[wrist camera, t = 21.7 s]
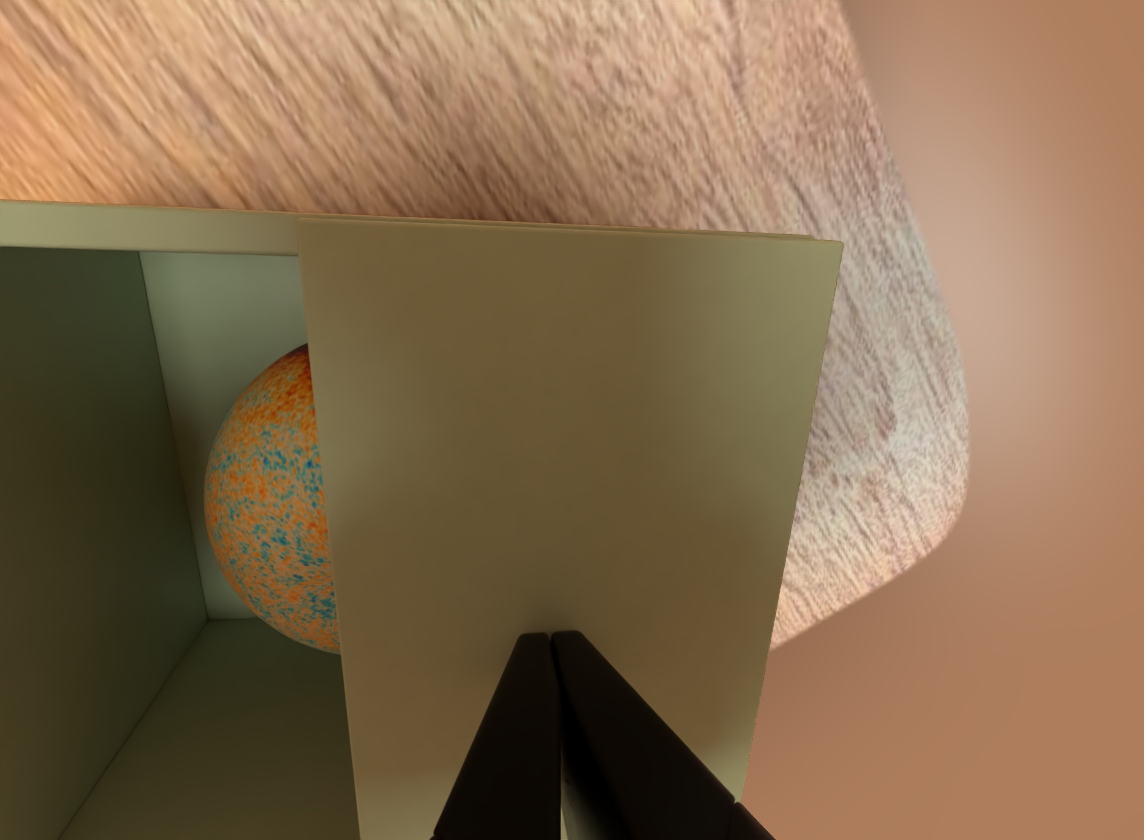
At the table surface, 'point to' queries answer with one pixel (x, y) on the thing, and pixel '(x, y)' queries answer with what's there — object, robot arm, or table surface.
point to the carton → (152, 533)
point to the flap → (554, 473)
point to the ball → (274, 505)
